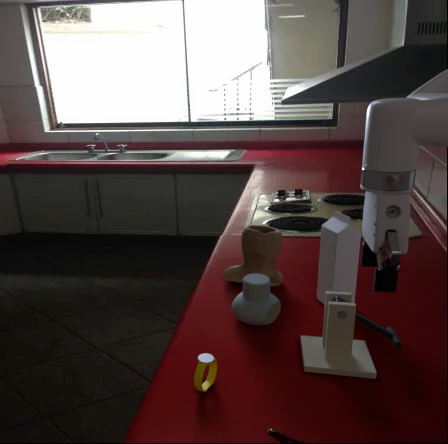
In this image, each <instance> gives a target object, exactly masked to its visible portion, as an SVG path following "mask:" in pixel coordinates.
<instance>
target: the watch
mask: <svg viewBox="0 0 448 444" xmlns="http://www.w3.org/2000/svg"><path fill="white" fill-rule="evenodd" d="M217 361H218V360H217V358H215V357H214V356H213V354H212V353H208V352H205V353H200V354H199V355H198V356H197V363H198V364H197V366H196V368H195V372H194V377H193V378H194V379H193V380H194V381H193V384H194V387H195V389H196V390H198V391H201V392H203V393H207V391H208V389H210V387H212V385H213V384H214V382H215V379H216V376H217V372H218V362H217ZM207 366H209V369H208V373H207V377H206V379H205V381H204V382H203V378H204V377H203V376H204V373H205V370H206V367H207Z"/></svg>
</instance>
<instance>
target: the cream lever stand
mask: <svg viewBox="0 0 448 444" xmlns="http://www.w3.org/2000/svg"><path fill="white" fill-rule="evenodd" d="M335 296H338V297H340V298H341V299H343V300H345V301H347V302H349V303H347V302H331V301H332V300H333V298H334V297H335ZM351 300H352V294H351V292H335V291H326V294H325V305H324V307H323V308H324V309H323V324H322V336H315V335H300V337H299V338H300V340H299V341H300V349H301V357H302V364H303V371H304V372H305V373H316V374H323V375H324V374H325V375H335V376H344V377H354V378H362V379H363V378H365V379H373V380H374V379H375V380H376V379H377V375H378V373H377V370H376V367H375V365H374V362H373V359H372V356H371V354H370V352H369V349H368V346H367V343H366V341H365V340H361V339H354V331H355V323H356V320H355V313H356V312H357V305H356V302H354V303H351Z"/></svg>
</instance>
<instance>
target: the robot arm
mask: <svg viewBox="0 0 448 444" xmlns="http://www.w3.org/2000/svg"><path fill="white" fill-rule="evenodd" d="M364 131H365V132H364V142H363V152H362V165H361V175H360V176H361V177H360V187H359V188H360V190H362V191H365V195H364V203H363V210H362V211H363V212H362V223H361V225H362V226H361V235H362V237H363V238H362V245H361V255H360V256H361V257H360V265H361V267H362V268H363V267H364V268H374V278H373V287H372V289H373V291H374V292H376V293H391V294H393V293H396V292H397V287H398V279H399V272H400V265H401V260H400V259H401V256H404V255H406V254H407V252H408V249H409V240H410V239H409V238H410V222H411V194H410V193H412V192H414V191H415V185H416V184H415V183H416V176H417V169H418V168H417V167H418V159H419V153H420V147H422V146H435V147H448V69H447V68H446V69H445V70H444V71H441V72H440V73H439V74H437V75H436V76H434V77H433V78H431V79H430V80H428V81H426V82H425V83H424V84H422V85H421V86H419V87H418V88H417V89H415V90H413V91H412V92H411V93H410V94H409V95H407V96H406V97H388V98H381V99H375V100H373V101H372V102H370V103H369V105H368V107H367V109H366V117H365V129H364ZM384 256H387V257H385V259H384Z"/></svg>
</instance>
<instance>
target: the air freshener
mask: <svg viewBox="0 0 448 444" xmlns="http://www.w3.org/2000/svg"><path fill="white" fill-rule="evenodd" d="M270 283H271V281H270V278H269V277H267V276H266V275H263V274H249V275H246V276H245V277H244V278H243V283H242V291H241V292H240V293H238V294H237V295H236V297H235V298H234V300H233V301H232V304H231V312H232V314H233V315H234V317H235V318H236V319H238V320H239V321H240V322H242V323H244V324H246V325H249V326H255V327H257V326H258V327H261V326H263V327H264V326H268V325H270V324H272V323H273V322H274V321H275V320H276V319H277V318H278V316H279V314H280V312H281V309H282V303H281V302H280V300H279V298H278V297H277V296H275V295H274V294H273V293H271V286H270Z"/></svg>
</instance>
